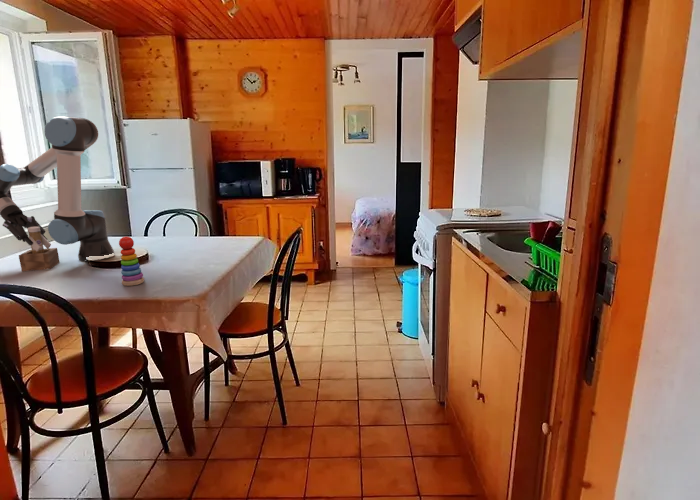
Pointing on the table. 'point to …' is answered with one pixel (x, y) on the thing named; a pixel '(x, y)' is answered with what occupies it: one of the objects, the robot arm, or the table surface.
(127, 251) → the stacking toy
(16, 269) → the table surface
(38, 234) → the sprinkles bottle
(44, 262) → the walnut socket block
